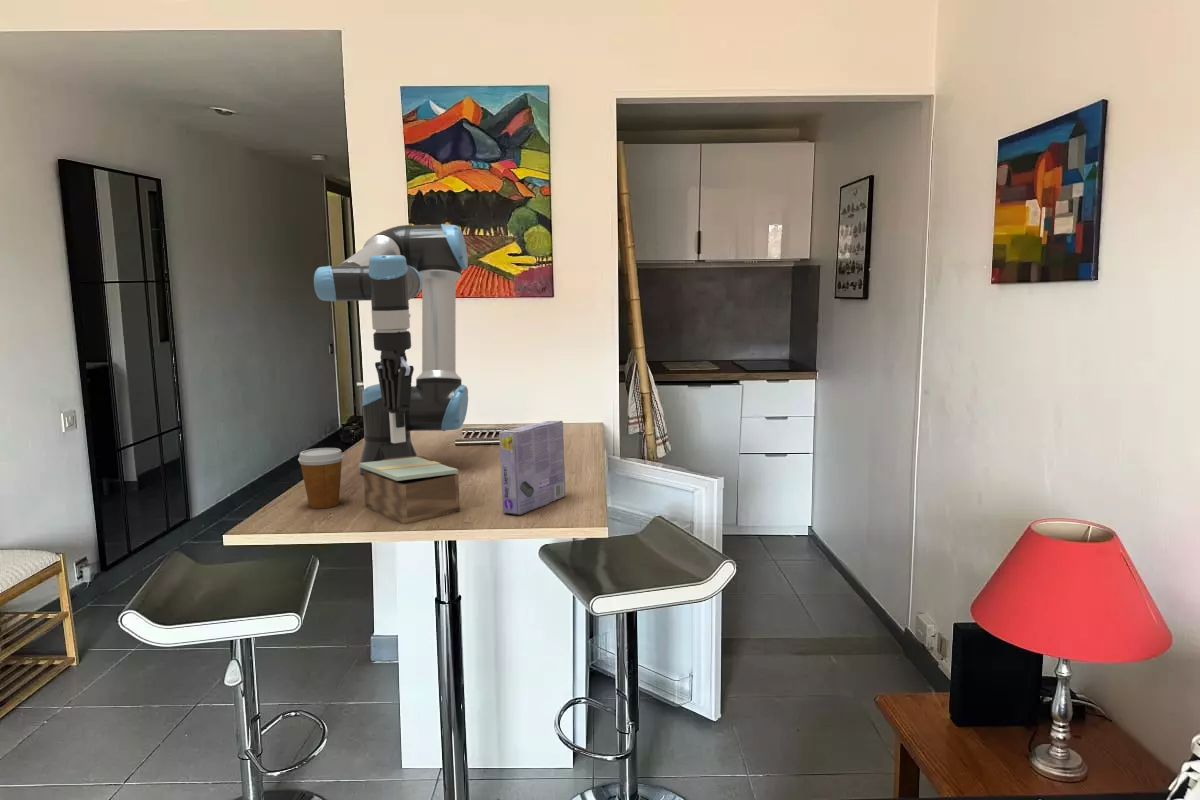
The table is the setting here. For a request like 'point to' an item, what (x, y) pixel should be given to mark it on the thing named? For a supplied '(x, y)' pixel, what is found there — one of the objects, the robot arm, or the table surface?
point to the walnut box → (411, 496)
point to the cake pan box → (532, 466)
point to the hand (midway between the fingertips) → (398, 441)
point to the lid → (408, 468)
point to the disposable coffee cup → (322, 476)
